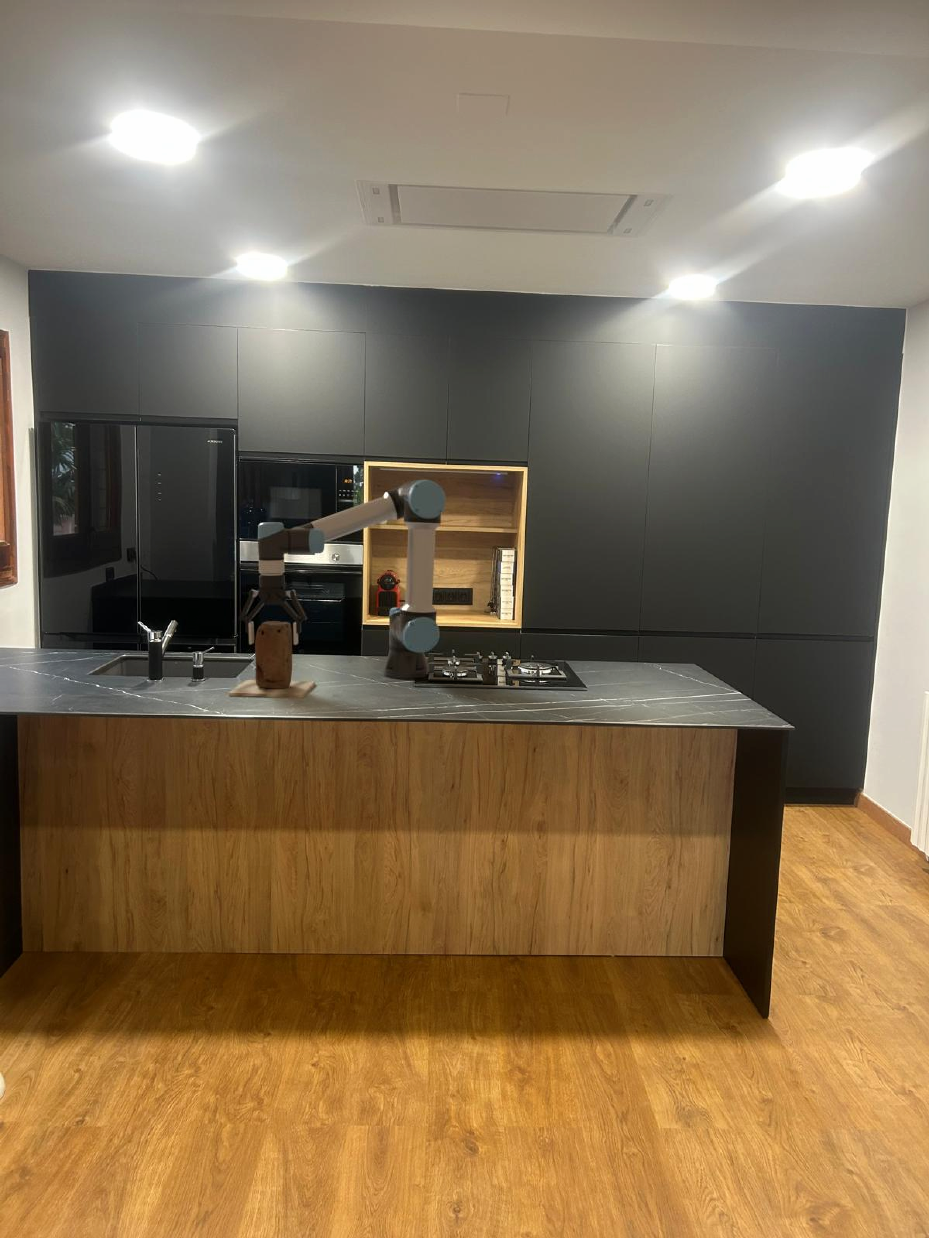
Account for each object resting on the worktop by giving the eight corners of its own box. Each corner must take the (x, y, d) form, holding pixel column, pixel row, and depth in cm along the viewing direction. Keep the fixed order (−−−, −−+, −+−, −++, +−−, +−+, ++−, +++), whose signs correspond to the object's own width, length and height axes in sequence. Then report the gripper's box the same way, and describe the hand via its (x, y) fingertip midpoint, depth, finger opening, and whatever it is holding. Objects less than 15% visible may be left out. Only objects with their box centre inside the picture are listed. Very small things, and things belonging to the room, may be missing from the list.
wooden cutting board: (315, 684, 266) (315, 681, 266) (302, 697, 248) (302, 694, 248) (246, 682, 267) (246, 679, 267) (228, 696, 249) (228, 692, 249)
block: (294, 684, 261) (293, 620, 258) (287, 690, 254) (287, 624, 251) (259, 683, 261) (258, 620, 259) (252, 689, 254) (251, 623, 251)
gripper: (315, 573, 256) (317, 641, 259) (234, 572, 257) (236, 641, 260) (310, 575, 248) (312, 646, 252) (226, 574, 249) (229, 645, 252)
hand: (273, 643), depth 256 cm, fingers open, 13 cm apart
